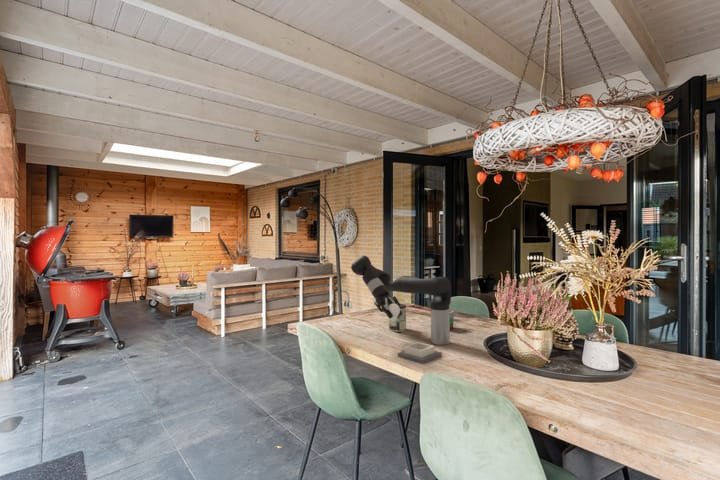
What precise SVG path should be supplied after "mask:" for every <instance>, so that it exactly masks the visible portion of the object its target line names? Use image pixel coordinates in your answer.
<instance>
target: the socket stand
mask: <svg viewBox="0 0 720 480" xmlns="http://www.w3.org/2000/svg"><path fill="white" fill-rule="evenodd" d="M435 346H436V345H432V344H428V343H424V342H419V341H416V342H413V343H410V344H408V345H405V346H404V350H402V351H400V352H397V357H399V358H401V359H402V358H403V359H405V360H408V361H413V362H416V363H418V364H419V363H420V364H425V363H428V362H430V361H434V359H438V358H440V357H442V355H443V354H442V352H441V351H438V350H437V351H436V348H435Z"/></svg>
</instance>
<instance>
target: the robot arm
mask: <svg viewBox="0 0 720 480" xmlns="http://www.w3.org/2000/svg"><path fill="white" fill-rule="evenodd" d="M350 268H351V271H352V272H353V273H354V274H355V275H358V276H361V277H362V281H363V282H364V285H366V287H367V289H368V290H369V292H370V294H371V295H372V296H373V298H374V299H375V301H374V303H373V304H374V306H375V307H377V309H378V310H379V311H380V313H385V315H386V316H387V318H388V319H389V318H392V317H393V315H392V313H391V312H390V311H389V310H388V306H389V305H390V304H392V303H394V304H398V306H400V304H401V303H400V302H399V300H398V299H397V296H395V295H393V297H392V296H390V292H398V293H403V294H404V293H407V294H425V295H430V296H434V300H432V302H430V338H431V339H430V342H431V344H434V345H438V346H439V345H441V346H446V345H449V344H450V343H451V338H450V337H451V332H450V331H451V330H450V323H449V311H450V305H451V302H452V299H451V298H452V285H451V284H452V283H451V281H450V279H449V278H448V277H446V276H436V277H431V278H418V277H416V276H413V275H402V276H399V277H398V278H396V279H395V280H393V281H392V282H391V275H390V274H389V273H388V272H386V271H384V270H382V269H380V268H377V267H375V266H374V265H372V262H371V259H370V258H369V257H368V256H367V255H361V256H359V258H358V259H356V260H355V261H354V262H352V263H351V265H350ZM401 315H402V311H401V310H400V313H399V316H401Z"/></svg>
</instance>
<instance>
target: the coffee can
mask: <svg viewBox="0 0 720 480" xmlns="http://www.w3.org/2000/svg"><path fill="white" fill-rule="evenodd" d="M397 305H398V304H397ZM399 307H400V310H401V311H402V315H401V316H399V315H398V317H397V320H396V326H394V327H393V326H391V319H390V318H389V317H388V330H389V332H390V331H391V332H397V333H399V332H404V331H405V332H406V330H407V305H406V304H404V303H400V306H399Z"/></svg>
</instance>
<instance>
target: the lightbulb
mask: <svg viewBox="0 0 720 480" xmlns="http://www.w3.org/2000/svg"><path fill="white" fill-rule="evenodd" d="M388 310H389V311H390V312H391V313H392V315H393V317H392V318H390V319H391V326H393V327H394V326H396V320H397V317H398V315H399V313H400V307H399V306H398V305H397V304H394V303H392V304H390V305H389V306H388Z"/></svg>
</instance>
